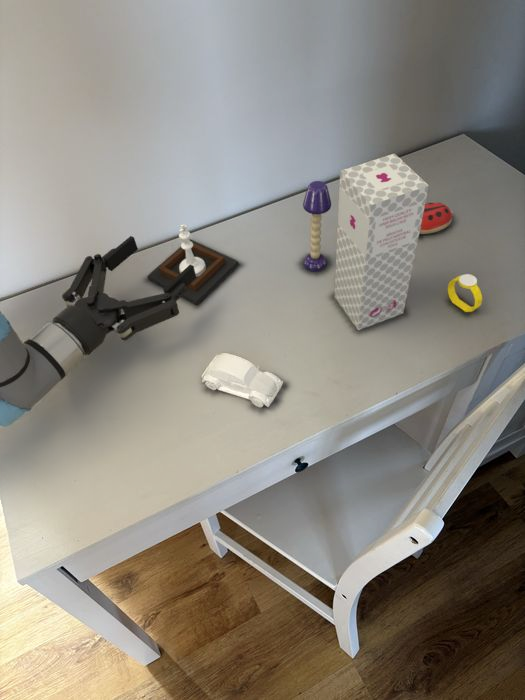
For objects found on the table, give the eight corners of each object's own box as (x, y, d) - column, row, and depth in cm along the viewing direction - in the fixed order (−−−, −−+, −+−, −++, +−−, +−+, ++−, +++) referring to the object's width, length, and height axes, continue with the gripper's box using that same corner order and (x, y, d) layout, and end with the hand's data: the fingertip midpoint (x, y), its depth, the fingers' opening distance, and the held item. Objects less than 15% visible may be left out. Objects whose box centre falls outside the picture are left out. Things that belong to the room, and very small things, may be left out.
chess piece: (211, 265, 99) (202, 221, 91) (194, 281, 96) (184, 238, 88) (190, 255, 101) (180, 212, 93) (174, 271, 98) (161, 229, 90)
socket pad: (148, 279, 99) (144, 270, 97) (190, 242, 104) (188, 232, 102) (197, 305, 94) (194, 295, 92) (238, 265, 100) (237, 255, 98)
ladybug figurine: (395, 220, 104) (397, 205, 101) (440, 207, 105) (444, 192, 102) (412, 241, 100) (414, 226, 97) (459, 227, 101) (463, 212, 98)
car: (199, 385, 84) (194, 368, 80) (220, 356, 87) (216, 338, 83) (267, 414, 79) (264, 397, 76) (286, 383, 83) (285, 365, 79)
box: (358, 330, 88) (371, 204, 68) (334, 296, 93) (340, 170, 73) (403, 313, 89) (428, 185, 70) (377, 280, 94) (394, 153, 75)
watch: (480, 312, 88) (490, 287, 83) (468, 320, 87) (477, 295, 83) (453, 291, 91) (460, 266, 87) (441, 299, 91) (448, 273, 86)
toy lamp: (308, 252, 100) (307, 175, 87) (332, 256, 99) (335, 178, 86) (300, 269, 98) (298, 192, 84) (325, 274, 96) (327, 196, 83)
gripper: (27, 321, 89) (118, 247, 98) (133, 390, 79) (223, 300, 88) (6, 290, 83) (105, 214, 93) (119, 360, 73) (216, 267, 82)
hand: (163, 256), depth 90 cm, fingers open, 13 cm apart
